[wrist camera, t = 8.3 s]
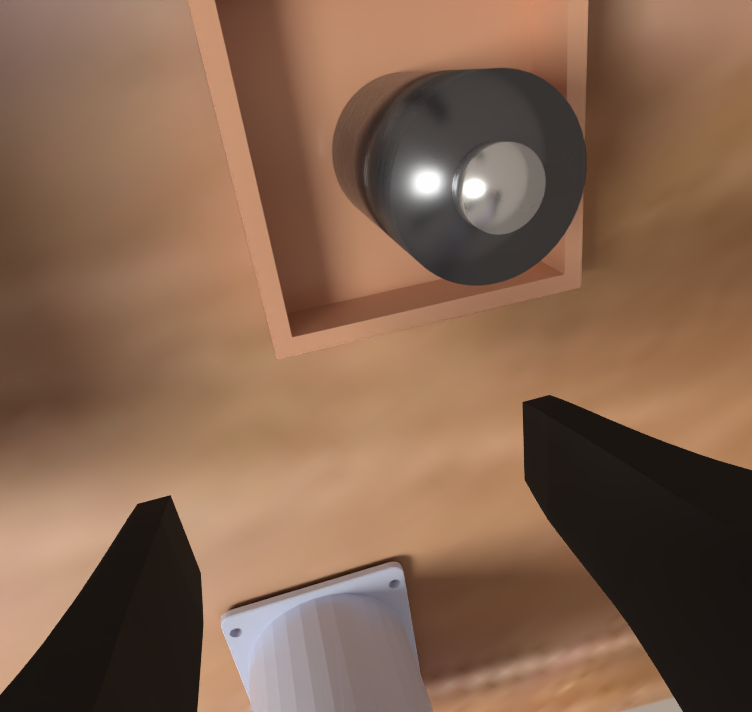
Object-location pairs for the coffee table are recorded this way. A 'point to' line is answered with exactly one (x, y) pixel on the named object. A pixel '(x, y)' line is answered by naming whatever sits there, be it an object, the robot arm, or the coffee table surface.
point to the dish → (315, 136)
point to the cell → (463, 168)
